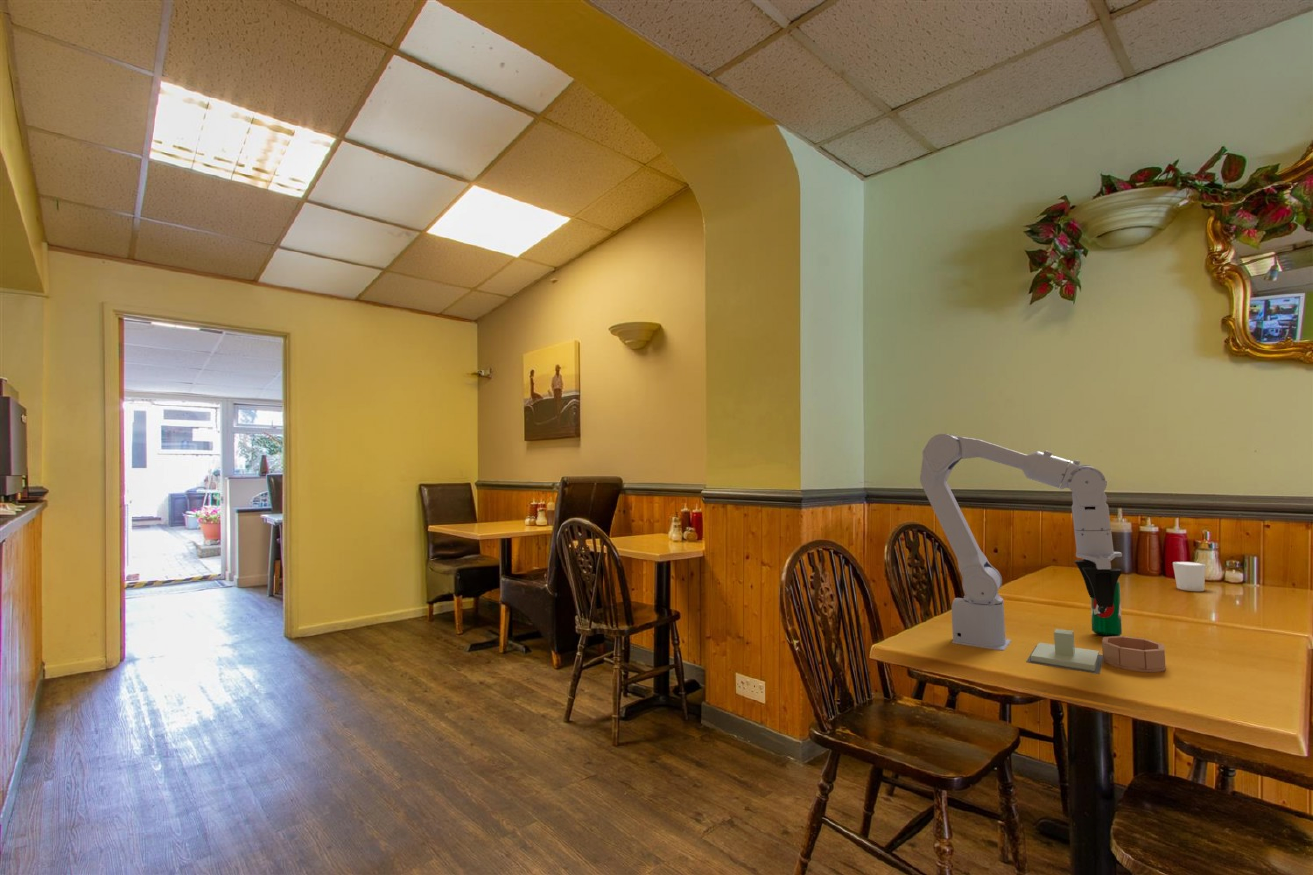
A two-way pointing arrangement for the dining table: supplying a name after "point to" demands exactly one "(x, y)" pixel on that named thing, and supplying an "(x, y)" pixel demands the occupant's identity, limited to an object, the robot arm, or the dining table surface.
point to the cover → (1065, 652)
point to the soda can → (1107, 616)
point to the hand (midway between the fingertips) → (1100, 601)
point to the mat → (1071, 667)
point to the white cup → (1189, 575)
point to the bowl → (1134, 653)
